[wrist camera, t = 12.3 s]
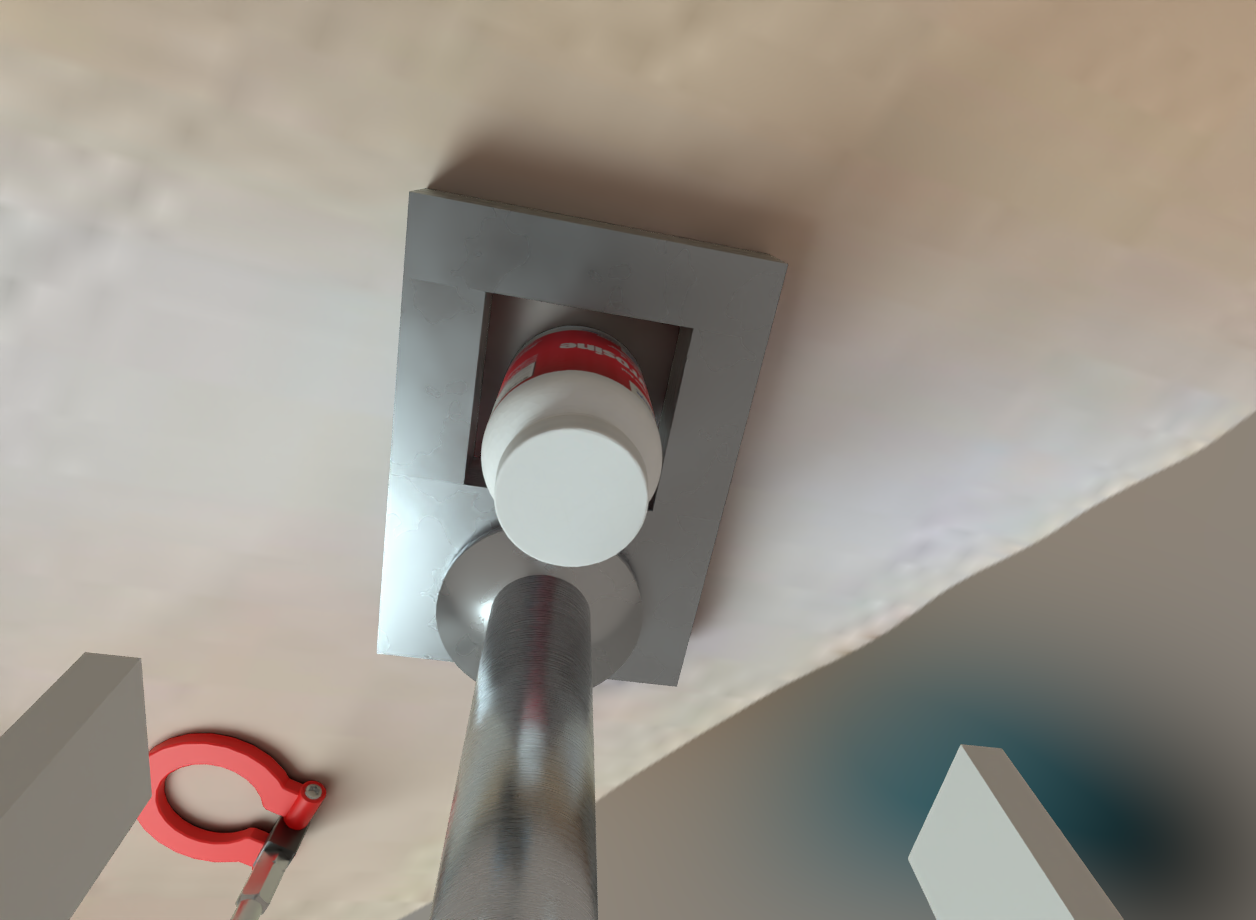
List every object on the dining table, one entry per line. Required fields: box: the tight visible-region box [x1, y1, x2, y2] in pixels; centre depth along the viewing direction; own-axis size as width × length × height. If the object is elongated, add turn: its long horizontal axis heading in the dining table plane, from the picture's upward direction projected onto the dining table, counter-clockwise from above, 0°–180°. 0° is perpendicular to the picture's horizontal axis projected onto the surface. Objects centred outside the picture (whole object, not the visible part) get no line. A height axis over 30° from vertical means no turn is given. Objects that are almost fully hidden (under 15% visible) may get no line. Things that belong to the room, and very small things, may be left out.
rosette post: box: [377, 188, 788, 920], centre depth 22 cm, size 21×14×23 cm, turn 169°
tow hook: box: [137, 733, 326, 920], centre depth 34 cm, size 8×13×9 cm
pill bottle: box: [481, 326, 662, 567], centre depth 27 cm, size 6×6×11 cm
